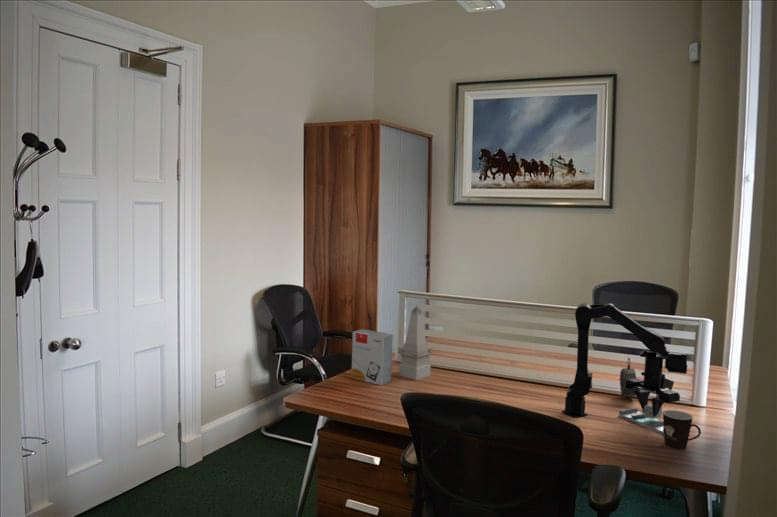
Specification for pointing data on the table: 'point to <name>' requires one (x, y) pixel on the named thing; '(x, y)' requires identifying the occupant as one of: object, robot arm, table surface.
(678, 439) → the coffee mug
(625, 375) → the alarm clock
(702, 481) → the table surface
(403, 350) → the miniature monument
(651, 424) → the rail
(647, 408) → the usb wall charger
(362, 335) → the hard drive box
